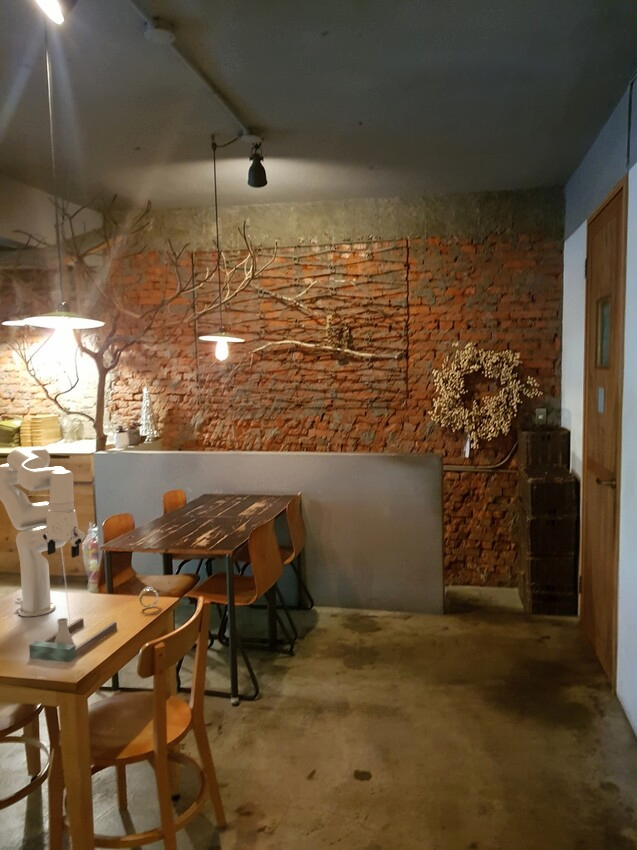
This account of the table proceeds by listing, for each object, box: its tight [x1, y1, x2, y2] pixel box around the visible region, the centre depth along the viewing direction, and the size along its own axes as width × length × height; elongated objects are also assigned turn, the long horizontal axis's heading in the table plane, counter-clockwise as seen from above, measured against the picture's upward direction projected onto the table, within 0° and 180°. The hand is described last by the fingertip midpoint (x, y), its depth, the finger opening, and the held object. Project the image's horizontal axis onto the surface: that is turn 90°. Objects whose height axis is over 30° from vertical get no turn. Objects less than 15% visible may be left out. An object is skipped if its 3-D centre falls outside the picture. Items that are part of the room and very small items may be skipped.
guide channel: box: [28, 617, 118, 663], centre depth 197 cm, size 14×25×4 cm, turn 165°
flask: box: [54, 617, 77, 647], centre depth 191 cm, size 7×7×10 cm
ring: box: [138, 585, 159, 609], centre depth 226 cm, size 7×3×8 cm, turn 116°
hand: (63, 554), depth 207 cm, fingers open, 9 cm apart
